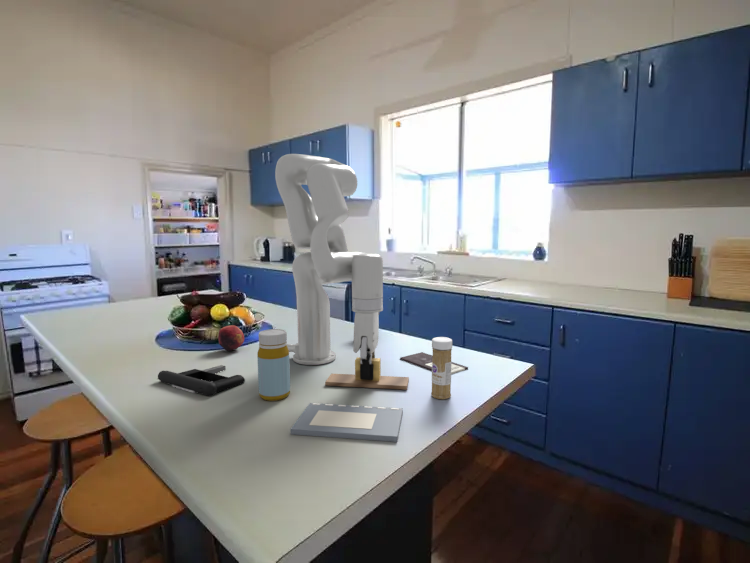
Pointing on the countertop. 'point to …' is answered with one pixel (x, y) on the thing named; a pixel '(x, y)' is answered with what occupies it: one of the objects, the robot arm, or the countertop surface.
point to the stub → (377, 381)
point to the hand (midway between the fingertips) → (367, 376)
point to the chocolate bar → (429, 362)
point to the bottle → (273, 365)
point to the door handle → (195, 384)
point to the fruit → (230, 337)
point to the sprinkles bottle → (441, 367)
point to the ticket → (349, 422)
